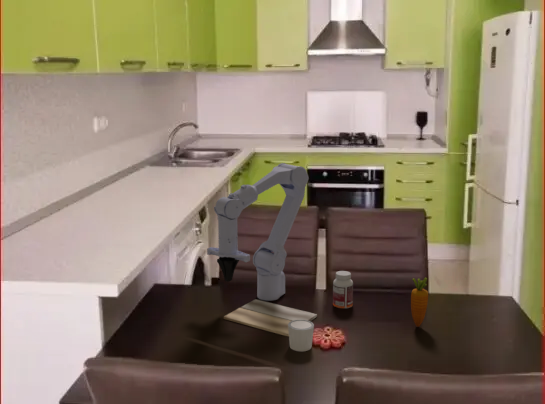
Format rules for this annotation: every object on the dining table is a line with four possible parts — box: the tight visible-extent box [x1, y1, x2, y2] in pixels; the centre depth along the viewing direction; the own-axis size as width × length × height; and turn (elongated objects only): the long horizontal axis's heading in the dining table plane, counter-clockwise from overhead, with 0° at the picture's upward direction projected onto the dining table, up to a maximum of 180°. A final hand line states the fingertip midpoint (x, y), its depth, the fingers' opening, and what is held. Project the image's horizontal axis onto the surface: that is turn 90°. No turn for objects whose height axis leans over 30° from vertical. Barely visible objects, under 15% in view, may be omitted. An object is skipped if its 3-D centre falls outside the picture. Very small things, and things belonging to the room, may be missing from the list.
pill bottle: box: [332, 270, 354, 309], centre depth 189 cm, size 6×6×11 cm
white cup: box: [288, 320, 315, 352], centre depth 160 cm, size 7×7×7 cm
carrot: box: [410, 277, 429, 328], centre depth 174 cm, size 5×5×15 cm
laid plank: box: [240, 298, 318, 322], centre depth 183 cm, size 8×22×2 cm, turn 57°
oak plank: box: [223, 307, 291, 337], centre depth 176 cm, size 8×22×2 cm, turn 57°
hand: (228, 280), depth 186 cm, fingers closed
